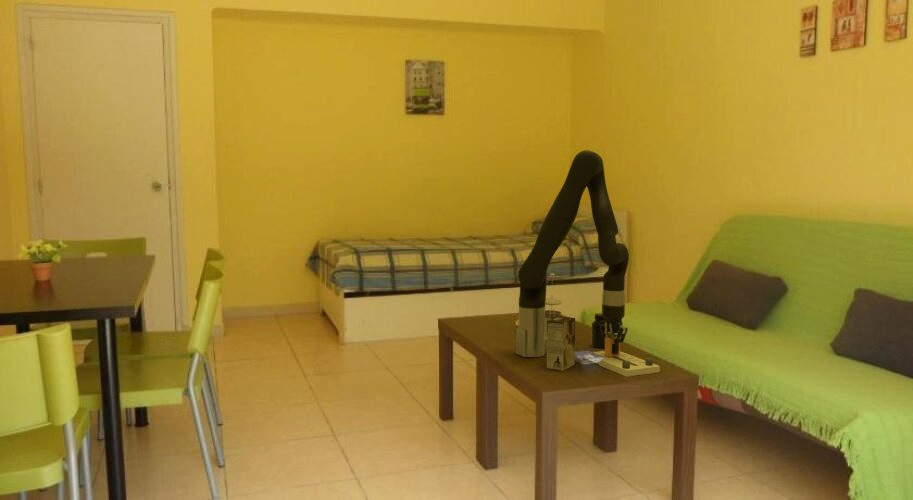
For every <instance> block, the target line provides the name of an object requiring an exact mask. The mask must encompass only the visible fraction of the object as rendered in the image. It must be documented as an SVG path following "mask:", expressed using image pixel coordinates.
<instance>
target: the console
mask: <svg viewBox="0 0 913 500" xmlns="http://www.w3.org/2000/svg"><path fill="white" fill-rule="evenodd" d="M593 353H595V354H598V355H601V356H603V357H604V359H602V360H601V361H600V362H599V365H598V366H600V367H602V368H604V369H607V370H609V371H612V372H615V373H616V374H619V375H621V376H624V377H626V378H629V377H636V376H642V375H647V374H648V375H649V374H651V375H652V374H655V373H661V372H660V371H661V365H658V364H656V363H654V359H653V357H645V360H644V359H642V358H640V357H637V356H634V355H632V354H629V353H626V352H623V351H621V350H620V356H614V357H608V356H605V350H602V351H601V350H600V351H593Z"/></svg>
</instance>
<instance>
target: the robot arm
mask: <svg viewBox="0 0 913 500" xmlns="http://www.w3.org/2000/svg"><path fill="white" fill-rule="evenodd" d="M586 188H587V191H588V194H589V199H590V200H589V201H590V206H591V216H592V220H593V222H594V226H595V230H596V233H597V243H598V245H597V246H598V254H599V257H600V259H601V261H602V263H603V264H605V266H606V265H607V266H608V268H607V271H605V273H604V275H603V280H602V281H603V282H602V284H603V285H602V295H601V313H602V316H603V317H605V318H604V321H599V326H600V330H601V334H602V338H609V337H612V343H613V344H612V354H613V355H616V354H618V352H619V343H620V344H621V343H624V341H625V340H626V339H625V338H626V336H627V332H628V327H624V326H623V321H622V320H623V318H624V317H625V316H626V315H625V314H626V313H625V310H626V307H625V306H626V294H625V292H626V291H625V283H626V282H625V281H626V280H625V278H626V274H627V270H628V265H629V259H630V256H629V255H630V254H629V250H628V247H627V246H626V245H625V244H623V243H619V242H618V243H617V239H616V238H617V237H616V236H617V235H618V233H619V227H618V223H617V220H616V217H615V213H614V211H613V207H612V204H611V200H610V196H609V193H608V189H607V183H606V175H605V166H604V161H603V159H602V157H601V156H600V155H599V154H598V153H596V152H594V151H592V150H589V149H585V150H582V151H580V152H578V153H577V154H576V155H575V156H574V158H573V159H572V162H571V165H570V168H569V170H568V173H567V175H566V178H565V180H564V183H563V185H562V187H561V188H560V190H559V192H558V194H557V195H556V197H555V199H554V201H553V203H552V205H551V207H550V209H549V210H548V212H547V214H546V216H545V218H544V220H543V222H542V225H541V227H540V230H539V231H538V234H537V238H536V241H535V244H534V245H533V248H532V249H531V251H530V252H529V254H528V256H527V257H526V259H525V260H524V262H523V263H522V264H521V266H520V267H519V270H518V274H517V277H518V280H519V296H518V326H517V327H515V328H516V330H515V333H516V334H515V335H516V336H515V337H516V338H515V354H517V355H518V356H521V357H522V358H539V357H543V356H545V354H546V353H545V349H546V339H545V311H546V304H545V300H546V299H547V271H548V268H549V266H550V263H551V261H552V259H553V257H554V255H555V253H556V252H557V251H558V249H559V248H560V246H561V245H562V243H563V242H564V240H565V239H566V237H567V235H568V234H569V232H570V231H571V228H572V226H573V224H574V222H575V221H576V218H577V215H578V212H579V209H580V204H581V199H582V196H583V194H584V192H585V190H586ZM604 331H605V333H604ZM605 334H606V335H605ZM615 337H616V340H615Z"/></svg>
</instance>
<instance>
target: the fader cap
mask: <svg viewBox="0 0 913 500" xmlns="http://www.w3.org/2000/svg"><path fill="white" fill-rule="evenodd" d="M615 340H616V337H615ZM612 344H613V343H612V337H609V338H605V348H604V351H605V356H608V357H614V356H620V351H621V343H619V352H618V354H616V355H613V354H612Z"/></svg>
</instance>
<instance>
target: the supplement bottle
mask: <svg viewBox="0 0 913 500" xmlns="http://www.w3.org/2000/svg"><path fill="white" fill-rule="evenodd" d="M604 318H605V317H603V316H602V312H600V313H599V312H598V313H597V312H596V313H594V320H593V321H592V323H591V336H590V337H591V338H590V339H591V342H590V343H591V347H592V348H596V349H605V338H602V334H601V330H600V326H599V321H604ZM604 333H605V331H604ZM605 335H606V334H605Z"/></svg>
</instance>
